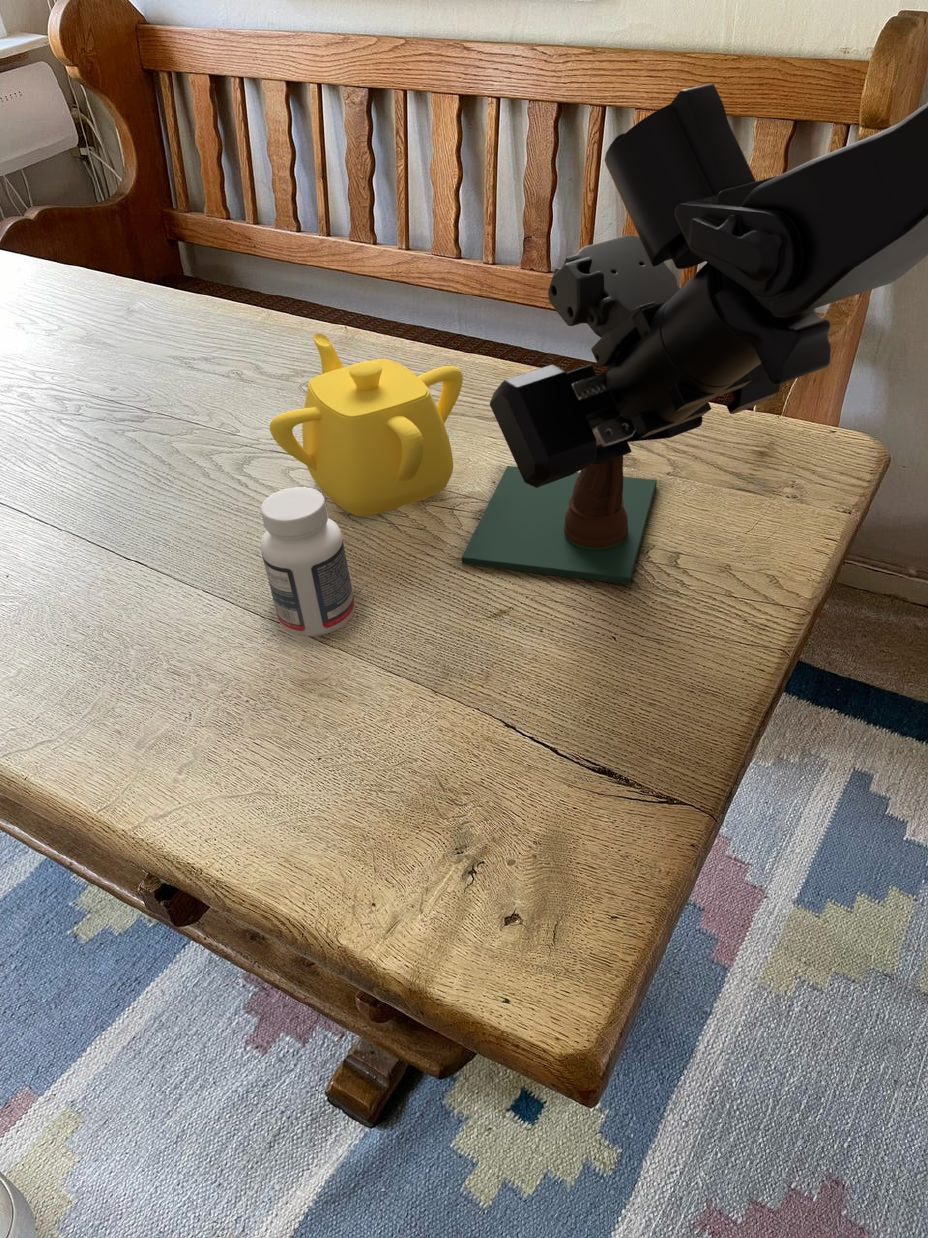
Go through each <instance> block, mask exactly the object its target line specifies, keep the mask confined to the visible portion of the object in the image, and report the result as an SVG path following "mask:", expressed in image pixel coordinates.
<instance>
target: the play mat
mask: <svg viewBox="0 0 928 1238" xmlns="http://www.w3.org/2000/svg"><path fill="white" fill-rule="evenodd" d="M579 473H580V472H579V471H578V472H576V473H574V474H572V475H570V476H567V477H565V478H562V479H559V480H557V481H554V482H551V483H549V484H546V485H543V486H541V487H538V488H535V487H533V486H531V485H529V484H527V483H525V482H524V480H523V478H522V475H521V473H520V471H519V469H518V467H517V466H513V465H507V466H506V468H505V470H504V472H503V474H502V476H501V477H500V479H499V482H498V484H497V485H496V488H495V489H494V492H493V494H492V496H491V498H490V499H489V502H488V503H487V506H486V508H485V510H484V512H483V513H482V515H481V518H480V520H479V521H478V523H477V526H476V527H475V529H474V532H473V533H472V535H471V537H470V540H469V541H468V543H467V546H466V548H465V549H464V551H463V554H462V555H461V557H460V558H461V564H462V565H468V566H474V567H475V566H476V567H485V568H491V569H493V568H494V569H501V570H508V571H517V572H525V573H533V574H542V575H549V576H555V577H564V578H565V577H566V578H574V579H581V580H588V581H597V582H605V583H613V584H621V585H630V584H631V581H632V578H633V574H634V571H635V566H636V562H637V560H638V556H639V552H640V548H641V545H642V541H643V537H644V534H645V530H646V526H647V523H648V519H649V514H650V511H651V509H652V505H653V501H654V496H655V493H656V488H657V484H658V483H657V482H658V481H657V479H651V478H641V477H632V476H631V477H630V476H623V495H622V498H623V500H624V506H623V507H624V508H625V510H626V513H627V517H628V522H627V523H628V533H627V536H626V537H625V539H624V540H623V541H622V542H620V543H619V544H617V545H616V546H613V547H610V548H606V549H586V548H582V547H579V546H576V545H574V544H573V543H571V542H570V541H569V540H568V539H567V537H566V536H565V533H564V523H565V514H566V512H567V510H568V508H569V500H570V498H571V497H572V494H573V489H574V485H575V482H576V480H577V477H578V475H579Z"/></svg>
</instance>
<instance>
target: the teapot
mask: <svg viewBox="0 0 928 1238" xmlns="http://www.w3.org/2000/svg"><path fill="white" fill-rule="evenodd" d="M312 339H313V342H314V344H315V346H316V349H317V351H318V355H319V358H320V364H321V374H318V375H315V376H313V377H312V378H311V379H310V380H309V382H308V383H307V384H308V385H307V390H306V394H305V400H304V407H303V408H298V409H294V410H289V411H285V412H283V413H280V414H278V415H276V416H274V417H273V418H272V419H271V421H270V423H269V432H270V434H271V436H272V439H273V440H274V442H275V443H276V444H277V445H278V446H279V447H280V448H281V449H282V450H283V451H284V452H286V453H287V454H288V455H290V456H291V457H293V458H294V459H296V460H297V461H299V462H300V463H302V464H304V465H305V466H306V467H307V470H308V472H309V474H310V476H311V478H312V479H313V481H314V482H315V484H316V485H317V486H318V487H319V489H320V490H321V491H322V493H324V495H325V496H326V497H327V498H328V499H329V500H331V501H332V502H333V503H334V504H336V505H337V506H338V507H340V508H341V509H342V510H344V511H346V512H347V513H350V514H352V515H354V516H359V517H370V516H375V515H379V514H383V513H386V512H390V511H393V510H396V509H400V508H403V507H406V506H409V505H413V504H414V503H418V502H419V501H422V500H425V499H428V498H430V497H433V496H435V495H437V494H439V493H441V492H442V491H444V490H445V489H446V488H447V486H448V484H449V481H450V480H451V477H452V476H453V475H452V474H453V471H454V457H453V452H452V451H453V450H452V447H451V446H452V445H451V442H450V437H449V434H448V431H447V428H446V425H445V423H446V421H447V420H448V418H449V416H450V415H451V412H452V411H453V408H454V407H455V405H456V403H457V401H458V399H459V397H460V393H461V391H462V387H463V382H464V376H463V372H462V371H461V369H460V368H459V367H457V366H455V365H444V366H440V367H437V368H434V369H431V370H429V371H426V372H424V373H422V374H420V375H417V374H416V373H415V372H413V371H412V370H411V369H409V368H407V367H405V366H404V365H403V364H401V363H399V362H396V361H394V360H392V359H388V358H376V359H371V360H366V361H365V360H364V361H359V362H357V363H354V364H349V365H346V366H344V365H343V363H342V361H341V359H340V357H339V354H338V352H337V350H336V348H335V346H334V344H333V342H332V340H331V339H330V338H329V337H327V336H326V335H325V334H324V333H320V332H317V333H314V335H313V337H312ZM439 383H442V388H441V391H440V395H439V398H438V402H437V404H436V402H435V400H434V398H433V395H432V394H431V391H430V390H429V387H431V386H433V385H436V384H439ZM300 424H301V433H302V435H301V437H302V438H301V439H302V445H301V443H300V442H299V441H298V439H297V438H296V436H295V435H294V432H293V429H294V428H295V427H296V426H298V425H300Z"/></svg>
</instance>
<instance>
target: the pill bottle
mask: <svg viewBox="0 0 928 1238" xmlns="http://www.w3.org/2000/svg"><path fill="white" fill-rule="evenodd" d="M325 499H326V498H325V497H324V495H323V493H321V492H320V491H319V490H317V489H315V488H312V487H304V486H296V487H295V486H294V487H288V488H285V489H280V490H279V491H276V492H273V493H272V494H270V495H269V496H268V497H266V498H265V499H264V500H263V502H262V504H261V505H260V512H261V517H262V522H263V527H264V528H265V532H264V534H263V535H262V537H261V540H260V551H261V552H260V553H261V558H262V560H263V564H264V568H265V572H266V576H267V581H268V584H269V589H270V592H271V597H272V600H273V604H274V609H275V612H276V616H277V620H278V623H279V624H280V626H281V627H282V628H283V629H284V630H285V631H286V632H288V633H290V634H293V635H295V636H300V637H309V638H310V637H319V636H324V635H329V634H331V633H333V632H336V631H338V630H339V629H342V628H343V627H344V626H345V625H347V623H349V621H350V620H351V619H352V618H353V616H354V613H355V609H356V602H355V595H354V591H353V586H352V580H351V575H350V569H349V564H348V558H347V554H346V547H345V544H344V542H345V541H344V537H343V533H342V530H341V529H340V527H339V525H338V524H337V523H336V522H335V521H334V520H333V519H331V518H329V514H328V509H327V504H326V500H325Z"/></svg>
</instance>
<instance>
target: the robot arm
mask: <svg viewBox="0 0 928 1238" xmlns="http://www.w3.org/2000/svg"><path fill="white" fill-rule="evenodd" d="M741 148H742V147H740V143H739V142H738V140H737V138H736V136H735V134H734V131H733V128H732V126H731V125H730V122H729V119H728V116H727V111H726V108H725V105H724V103H723V100H722V98H721V96H720V94H719V92H718V89H717V87H716V86H715V84H713V83H708V84H703V85H699V86H694V87H689V88H684V89H680V90H679V91H678V93H677V94H676V96H675V97H674V98H673V99H672V101H671V102H670V103H669V104H668V105H667V104H666V105H665V106H663V107H662V108H659V109H657V110H655V111H654V112H652V113H650V114H649V115H647V116H646V117H644V118H643V119H641V120H640V121H639V122H637V123H636V124H635V125H633V126H632V127H631V128H630V129H628V130H627V131H626V132H624V133H621V134H619V135H616V137H615V138H614V139H613V141H612V142H611V143H610V145H609V146H608V149H607V150H606V151H605V156H604V164H605V166H606V169H607V170H608V172H609V175H610V178H611V179H612V181H613V184H614V186H615V188H616V190H617V192H618V193H619V196H620V199H621V201H622V203H623V205H624V208H625V209H626V211H627V214H628V216H629V218H630V220H631V222H632V224H633V227H634V229H635V231H636V233H637V235H638V236H637V235H634V234H633V235H632V234H626V235H622V236H619V237H615V238H612V239H611V238H610V239H607V240H604V241H600V242H597V243H596V242H595V243H593V244H589V245H586V246H583V247H581V248H580V249H579V251H578V252H577V254H573V255H569V256H566V257H565V258H564V259H565V260H564V262H563V265H561V267H557V268H555V269H554V270H553V275H552V278H551V280H550V283H549V286H548V287H549V288H548V291H547V295H548V296H547V297H548V301H549V303H550V305H551V306H552V308H553V309H554V310H555V311H556V312H557V314H558V315H559V317H560V318H561V319H562V321H563V322H564V323H565V324H566V325H567V326H568V327H574V326H578V325H581V324H587V325H588V327H589V328H590V329H591V331H593V333H594V334H595V335H597V337H599V340H597V342H596V343H595V344H594V345H593V346H592V347H591V348H590V351H591V352H592V355H593V357H594V359H595V362H596V364H597V366H598V368H604V367H606V369H607V371H605V372H602V373H599V374H597V372H596V369H595V367H594V365H593V364H592V363H591V364H589V365H586V366H582V367H578V368H576V369H573V370H570V371H567V372H566V371H565V370H564V369H562V368H560V367H559V366H556V365H555V364H553V363H552V364H549V365H546V366H543V367H539V368H536V369H534V370H531V371H528V372H524V373H522V374H518V375H515V376H511V377H508V378H506V379H504V380H503V381H501V383H500V384H499V386H498V387H497V388H496V390H494V391H493V394H492V396H491V398H490V401H489V406H490V409H491V411H492V413H493V415H494V418H495V420H496V423H497V425H498V427H499V429H500V431H501V434H502V435H503V437H504V439H505V443H506V445H507V446H508V449H509V452H510V453H511V455H512V458H513V460H514V462H515V464H516V467H518V469H519V471H520V473H521V475H522V478H523V480H524V482H525V483H527V484H529V485H531V486H533V487H535V488H538V487H541V486H543V485H546V484H549V483H551V482H554V481H557V480H559V479H562V478H565V477H567V476H570V475H572V474H574V473H576V472H578V473H579V472H580V471H581V470H582V469H584V468H586V467H588V466H590V465H591V464H595V465H596V464H602V463H604V462H607V461H610V460H612V459H615V458H618V457H620V456H623V457H624V456H626V455H629V454H630V453H632V452H633V451H632V448H631V447H630V444H629V443H631V442H633V443H635V442H644V441H654V440H664V439H665V440H666V439H672V438H673V437H676V436H679V435H682V434H684V433H687V432H690V431H693V430H695V429H697V428H699V427H701V425H702V424H703V419H704V418H703V416H704V415H705V414H708V413H709V412H710V411H711V410H712V406H711V404H710V401H712V400H713V399H714V398H716V397H720V396H722V395H726V394H728V393H731V395H732V398H733V399H732V400H731V401H729V402H728V403H727V404H725V407H726V408H727V410H728V413H729V414H730V415H735V414H738V413H739V412H743V411H746V410H748V409H751V408H753V407H754V408H755V407H756V406H759V405H762V404H763V403H765V402H766V401H768V400H769V399H771V398H772V397H774V396H775V395H777V394H779V393H780V389H781V385H782V384H785V383H788V382H790V381H793V380H796V379H798V378H800V377H803V376H807V375H809V374H811V373H815V372H818V371H820V370H822V369H826V368H827V367H828V366H830V363H831V354H832V345H831V342H830V339H829V332H830V330H831V322H830V320H829V319H826V318H822V317H820V316H819V315H818V313H817V311H816V309H818V308H821V307H824V306H827V305H830V304H833V303H836V302H839V301H842V300H845V299H848V298H851V297H854V296H857V295H860V294H863V293H865V292H869V291H872V290H875V289H878V288H880V287H884V286H887V285H890V284H892V283H894V282H896V281H897V280H899V279H900V278H902V277H903V276H904V275H906V274H907V273H908V272H909V271H910V270H911V269H912V268H914V267H915V266H916V265H918V264H919V263H920V262H921V261H923V260H924V259H926V257H928V101H927V102H926V103H925V104H923V105H922V106H920V107H919V108H918V109H916V110H915V111H914V112H912V113H911V114H909V115H908V116H906V117H905V118H904V119H902V120H901V121H900V122H898V123H896V124H895V125H892V126H890V127H887V128H885V129H883V130H881V131H880V132H877V133H875V134H873V135H870V136H867V137H866V138H863V139H861V140H858V141H855V142H853V143H851V144H848V145H846V146H843V147H840V148H838V149H836V150H833V151H830V152H828V153H825V154H823V155H821V156H820V155H819V156H818V157H816V158H815V157H814V158H813V159H810V160H808V161H807V162H805V163H802V164H800V165H798V166H796V167H794V168H791V169H789V170H788V171H785V172H783V173H781V174H779V175H775V176H771V177H768V178H764V179H761V180H757V181H756V178H755V175H754V174H753V172H752V169H751V168H750V165H749V163H748V161H747V159H746V157H745V155H744V153H743V150H742V149H741ZM669 260H672V262H673V265H674V266H675V268H676V269H678V270H685V269H690V268H693V267H695V266H698V265H700V264H703V263H705V262H706V263H705V264H704V265H703V266H702V267H701V268H700V269H699V270H698V271H697V272H696V273H694V275H692V277H691V278H689V280H688V281H686V282H685V284H684V285H683V286H682V287H680V286H679V285H678V280H677V277H676V275H675V273H674V272H672V270H671V269H670V267H668V265H667V264H666V263H665V262H666V261H669Z"/></svg>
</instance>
